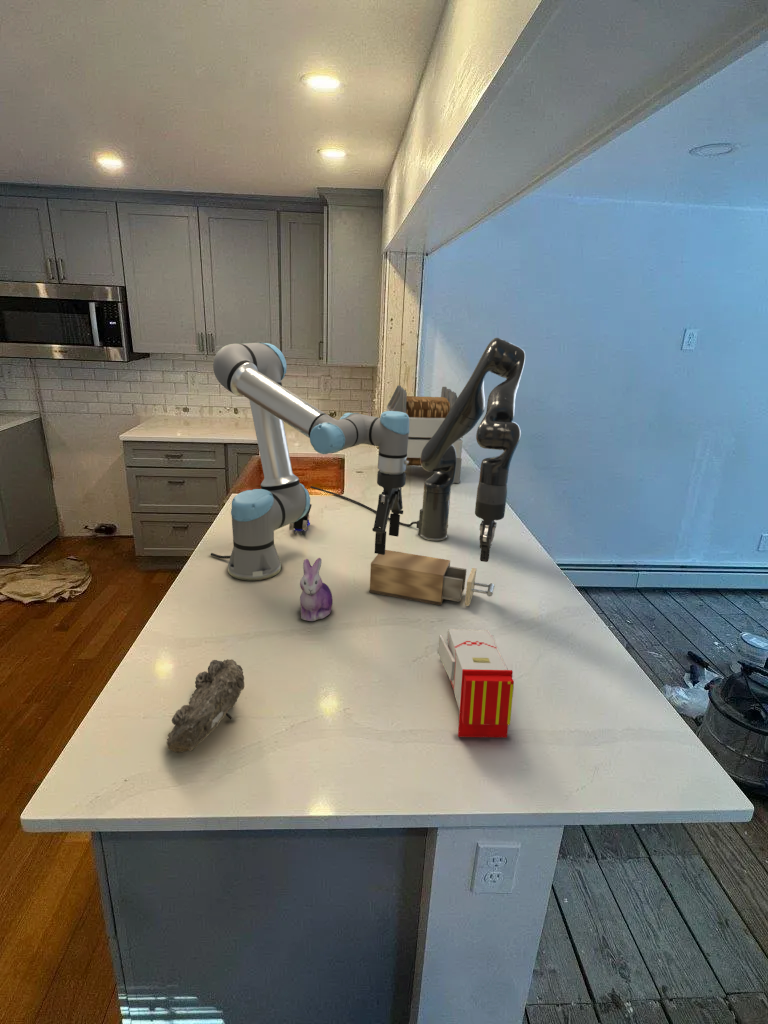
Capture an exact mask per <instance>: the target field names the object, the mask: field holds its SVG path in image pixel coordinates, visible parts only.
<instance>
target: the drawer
mask: <svg viewBox="0 0 768 1024" xmlns="http://www.w3.org/2000/svg"><path fill="white" fill-rule="evenodd" d="M476 575H477V568H475V567H472V568H471V570H470V572H469V575H468V578H467V568H463V567H456V566H451V565H450V566H449V567H448V569H447V571H446V573H445V575H444V580H443V591H442V599H443V600H449V601H453V602H458V603H460V602H461V600H462V598H463V595H464V592H465V598H464V606H466V607H470V605H471V602H472V598H473V596H474V594H475V593H479V594H484V595H486V596H487V597H492V596H493V593H494V590H495V584H494V583H488V584H487V583H480V582H476V577H477V576H476ZM466 578H467V581H466ZM475 586H477V587H484V588H487V590H482V589H476V588H475ZM465 588H466V589H465Z"/></svg>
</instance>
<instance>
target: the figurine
mask: <svg viewBox="0 0 768 1024" xmlns="http://www.w3.org/2000/svg"><path fill="white" fill-rule="evenodd" d="M302 566H303V567H302V568H303V575H302V576H301V579H300V582H299V586H300V587H299V588H300V589H301V591H302V592H301V594H300V596H299V604H300V619H302V620H304V621H307V622H308V621H309V622H315V621H317V620H322V619H324V618H327V616H329V615H330V614H331V613H332V611H333V610H332V609H333V594H332V591H331V588H330V587H329V585H328V584H326V583H325V582H323V579H322V577H321V576H320V570H321V566H322V558H321V557H318V558H317V559H316V560H315V561H314V563H313V564H312V565H311V563H310V561H309V559H308V558H305V559H304V560H303V565H302Z"/></svg>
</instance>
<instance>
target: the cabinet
mask: <svg viewBox="0 0 768 1024" xmlns="http://www.w3.org/2000/svg"><path fill="white" fill-rule="evenodd" d="M449 566H451V559H444V558H439V557H432V556H426V555H421V554H420V555H419V554H414V553H409V552H408V553H407V552H403V551H402V552H401V551H395V550H390V549H389V550H388V549H385V554H384V555H381V554H377V555H375V557H374V559H373V560H372V561H371V562H370V573H369V574H370V577H369V593H371V594H374V595H375V594H376V595H382V596H386V597H392V598H397V599H403V600H409V601H414V602H419V603H425V604H431V605H436V606H442V603H443V601H444V599H442V591H443V580H444V575H445V573H446V571H447V569H448V567H449Z"/></svg>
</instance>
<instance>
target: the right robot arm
mask: <svg viewBox="0 0 768 1024" xmlns="http://www.w3.org/2000/svg"><path fill="white" fill-rule="evenodd" d="M525 362H526V352H525V350H524V349H523V348H521V347H520V346H518V345H516V344H514V343H512V342H509V341H508V340H505V339H502V338H500V337H494V338H493V339H491V340H490V341H489V343H488V344H487V346H486V347H485V349H484V351H483V352H482V354H481V356H480V358H479V360H478V361H477V364H476V366H475V367H474V370H473V372H472V374H471V376H470V378H469V379H468V381H467V382H466V384H465V386H464V387H463V388H462V390H461V392H460V393H459V394H458V395H457V399H456V401H455V402H454V404H453V406H452V407H451V409H450V411H449V413H448V414H447V416H446V418H445V419H444V421H443V422H442V424H441V425H440V427H439V428H438V430H437V431H436V433H435V434H434V435H433V437H432V438H431V439H430V440H429V441H428V443H427V444H426V445H425V447H424V448H423V450H422V453H421V457H420V462H421V466H420V467H422V469H423V470H424V471H426V472H430V473H433V474H431V476H429V477H427V478H426V479H425V480H424V482H423V493H422V496H423V497H422V506H421V508H420V509H419V516H418V520H417V521H412V522H411V523H404V522H401V521H400V522H399V526H400V525H401V526H405V527H412V526H413V525H416V528H415V529H418V530H417V535H418V536H420V538H421V539H424V540H426V541H432V542H440V541H444V540H446V539H447V538H448V529H449V517H450V516H449V514H450V504H451V494H452V493H451V491H452V486H453V484H454V483H453V481H454V475H455V468H456V460H457V456H456V450H455V448H454V446H453V445H452V444H453V443H455V442H456V441H457V440H459V439H462V438H461V437H463V438H464V436H466V435H467V434H468V433H470V431H472V430H473V429H474V428H475V427H476V426H477V424H478V422H479V421H480V419H481V418H482V416H483V415H484V413H485V415H484V416H483V418H482V420H481V421H480V423H479V425H478V427H477V429H476V434H475V438H476V443H477V445H478V446H479V447H480V448H481V449H486V450H498V451H502V452H501V453H500V455H496V456H489V457H486V458H484V459H482V460H481V463H480V469H479V470H480V471H479V478H478V479H479V480H478V485H477V489H476V498H475V508H474V515H475V516H476V517H477V518H478V519H481V522H480V523H479V537H478V538H479V549H480V554H479V555H480V556H479V561H480V562H483V563H489V560H490V552H491V549H492V546H493V545H492V543H493V541H494V538H495V532H496V529H497V525H498V523H497V521H501V520H502V519H504V517H505V513H506V505H507V497H508V482H509V481H508V480H509V473H510V472H509V471H510V466H511V462H512V460H513V457H514V454H515V452H516V449H517V447H518V445H519V443H520V440H521V436H522V431H521V427H520V425H519V424H518V423H517V422H515V421H513V420H514V419H515V410H516V409H515V408H516V397H517V392H518V389H519V387H520V382H521V379H522V374H523V371H524V367H525ZM489 372H490V373H491V374H494V375H496V376H499V377H501V378H504V379H505V380H504V381H502V382H500V383H498V384H497V385H496V386H494V388H492V389H491V390H490V392H489V394H488V398H487V404H486V396H485V377H486V375H487V373H489ZM485 409H486V412H485ZM309 488H310V489H313V490H317V491H319V492H324V493H327V494H330V495H334V496H336V497H339V498H342V499H345V500H347V501H350V502H352V503H355V504H357V505H360V506H361V507H363V508H365V509H367V510H369V511H371V512H373V513H375V514H376V512H377V509H376V510H375V509H374V508H372V507H370V506H368V505H365V504H364V503H361V502H359V501H357V500H354V499H352V498H350V497H347V496H345V495H342V494H339V493H336V492H332V491H329V490H326V489H322V488H319V487H317V486H313V485H310V487H309ZM388 521H390V516H389V517H388Z"/></svg>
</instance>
